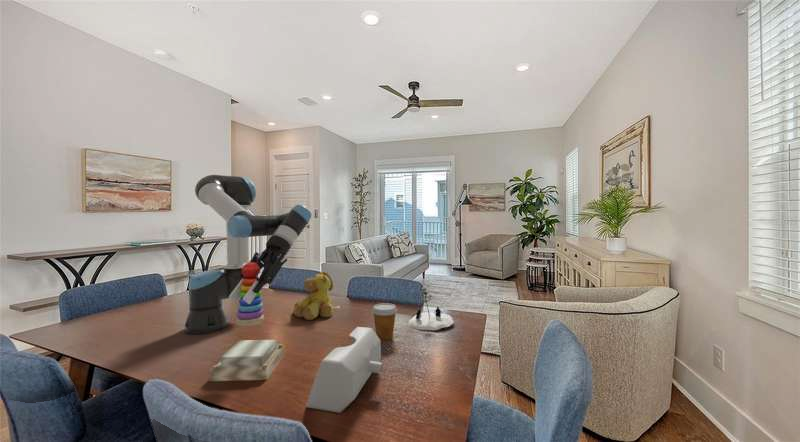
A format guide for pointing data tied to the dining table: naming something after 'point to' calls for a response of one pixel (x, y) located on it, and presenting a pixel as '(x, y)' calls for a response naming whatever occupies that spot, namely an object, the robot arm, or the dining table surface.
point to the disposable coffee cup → (384, 320)
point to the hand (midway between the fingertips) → (239, 300)
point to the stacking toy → (252, 311)
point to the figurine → (430, 317)
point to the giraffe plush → (316, 298)
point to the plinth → (248, 370)
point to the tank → (346, 372)
